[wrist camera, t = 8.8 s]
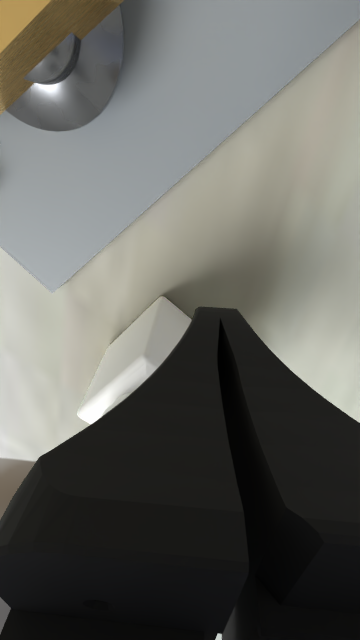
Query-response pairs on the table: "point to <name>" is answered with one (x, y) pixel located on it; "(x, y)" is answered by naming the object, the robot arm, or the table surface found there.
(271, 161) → the table surface
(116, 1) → the long golden bar
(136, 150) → the base
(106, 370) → the medicine bottle
